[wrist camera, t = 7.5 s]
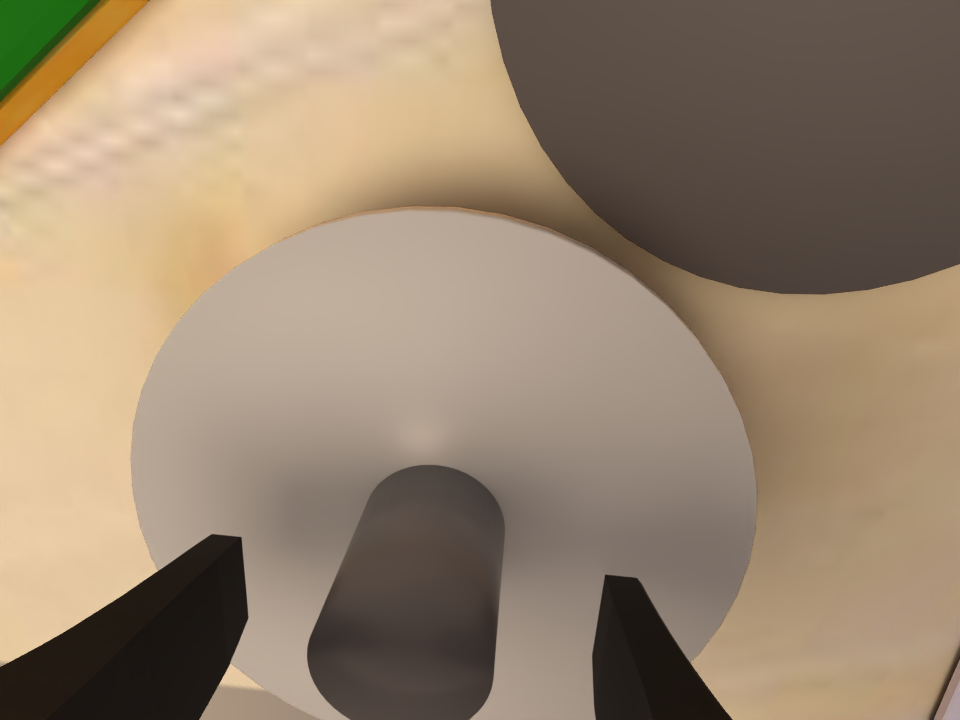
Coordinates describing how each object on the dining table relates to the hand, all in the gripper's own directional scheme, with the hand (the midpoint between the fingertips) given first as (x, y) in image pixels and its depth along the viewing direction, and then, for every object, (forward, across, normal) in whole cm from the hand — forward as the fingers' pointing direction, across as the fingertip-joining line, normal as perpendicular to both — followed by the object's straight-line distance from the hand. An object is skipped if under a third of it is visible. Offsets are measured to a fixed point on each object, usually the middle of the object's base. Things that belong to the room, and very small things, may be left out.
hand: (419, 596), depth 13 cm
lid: (+3, 0, 0) cm, 3 cm away
